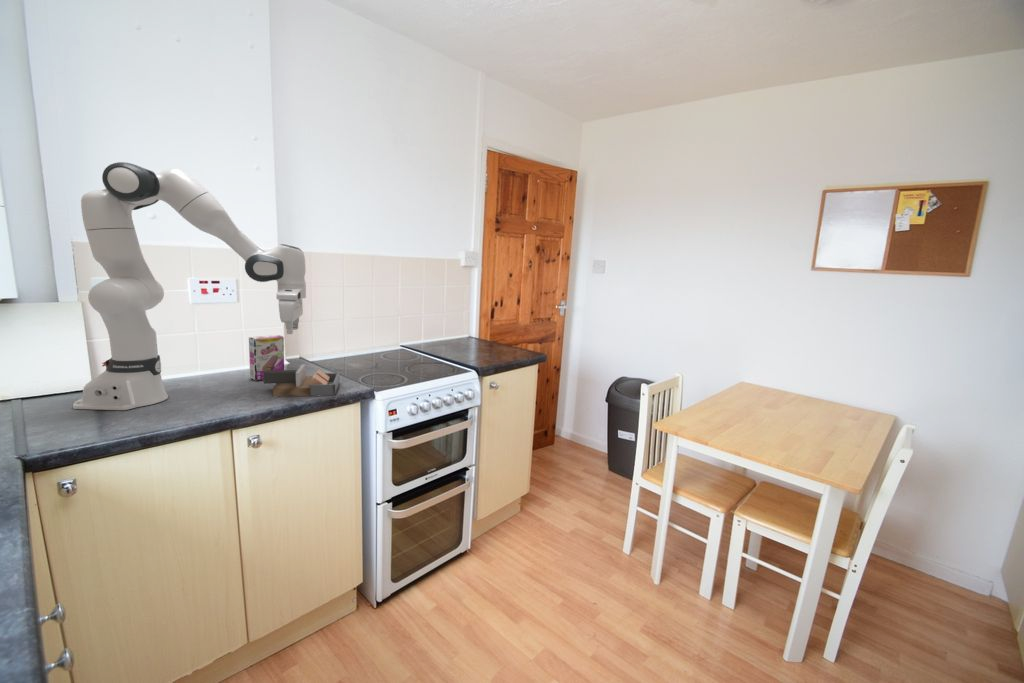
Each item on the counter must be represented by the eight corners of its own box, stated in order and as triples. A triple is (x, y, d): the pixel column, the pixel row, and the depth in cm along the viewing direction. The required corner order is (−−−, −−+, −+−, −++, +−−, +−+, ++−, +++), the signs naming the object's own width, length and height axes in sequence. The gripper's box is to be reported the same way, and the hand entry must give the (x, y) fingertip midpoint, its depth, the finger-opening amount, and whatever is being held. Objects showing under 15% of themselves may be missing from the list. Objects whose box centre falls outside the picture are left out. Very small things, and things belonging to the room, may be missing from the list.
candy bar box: (256, 381, 167) (253, 339, 164) (249, 379, 170) (247, 337, 167) (285, 376, 176) (284, 336, 173) (279, 374, 179) (277, 334, 176)
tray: (310, 396, 155) (310, 385, 154) (317, 383, 170) (317, 373, 169) (335, 395, 157) (335, 384, 156) (339, 382, 172) (339, 372, 171)
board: (272, 396, 152) (272, 388, 151) (282, 384, 166) (282, 376, 165) (310, 395, 155) (310, 387, 154) (317, 383, 169) (316, 376, 169)
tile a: (308, 384, 156) (314, 377, 156) (310, 380, 160) (316, 373, 160) (320, 392, 157) (326, 386, 157) (322, 388, 162) (327, 382, 162)
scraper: (260, 387, 151) (260, 373, 150) (269, 377, 163) (268, 364, 162) (299, 386, 155) (299, 372, 154) (305, 377, 166) (305, 364, 165)
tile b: (311, 378, 162) (316, 372, 162) (313, 375, 167) (318, 369, 167) (322, 387, 164) (328, 380, 164) (324, 383, 168) (329, 377, 168)
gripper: (288, 289, 163) (288, 326, 166) (275, 294, 144) (276, 336, 146) (306, 290, 165) (307, 327, 167) (296, 295, 145) (297, 336, 148)
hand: (292, 331), depth 157 cm, fingers open, 8 cm apart
